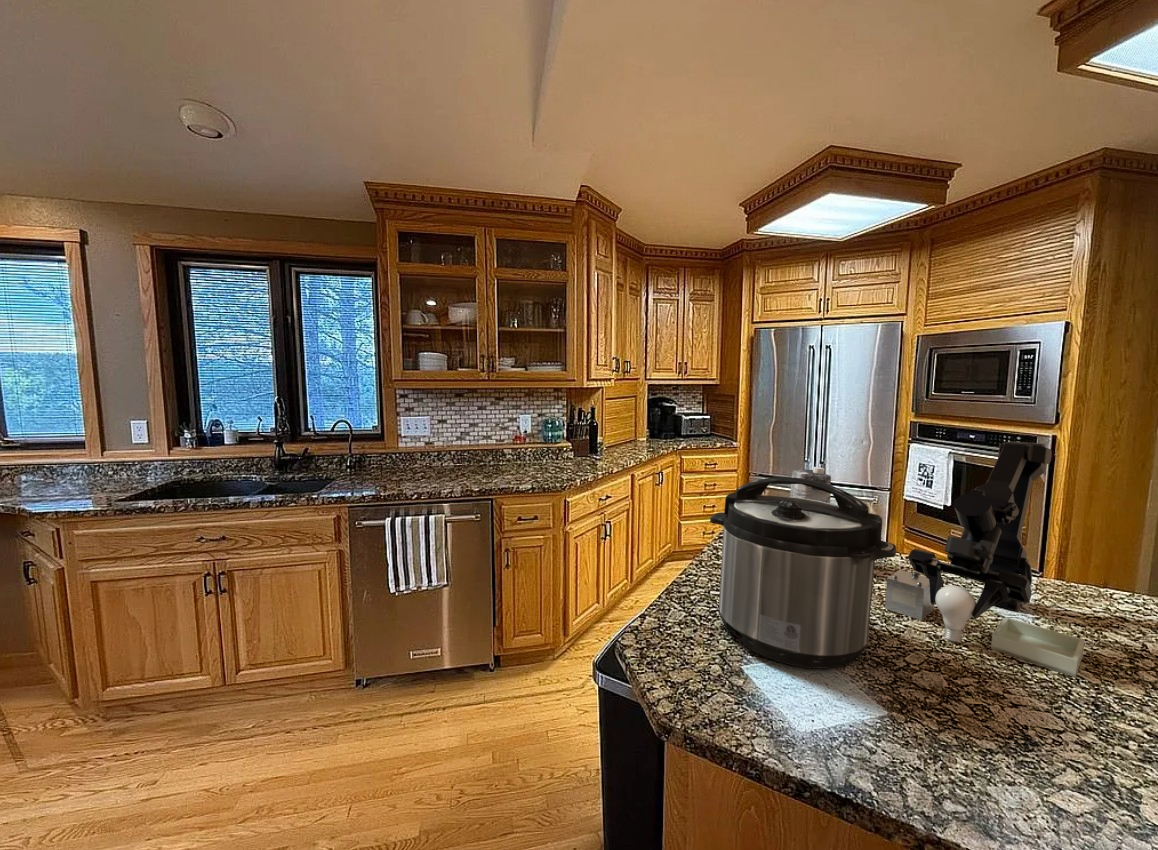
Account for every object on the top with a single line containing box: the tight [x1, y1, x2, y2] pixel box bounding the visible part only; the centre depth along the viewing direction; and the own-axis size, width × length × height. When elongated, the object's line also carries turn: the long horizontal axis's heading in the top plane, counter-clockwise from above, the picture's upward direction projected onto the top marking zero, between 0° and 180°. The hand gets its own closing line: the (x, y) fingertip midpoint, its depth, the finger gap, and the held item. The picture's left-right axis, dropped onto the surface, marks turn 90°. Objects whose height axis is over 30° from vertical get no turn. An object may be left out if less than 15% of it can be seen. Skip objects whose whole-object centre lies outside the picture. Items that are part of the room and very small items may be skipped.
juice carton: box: [789, 466, 832, 503], centre depth 136 cm, size 9×10×27 cm
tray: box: [990, 616, 1086, 678], centre depth 89 cm, size 11×11×3 cm
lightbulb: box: [935, 585, 977, 643], centre depth 93 cm, size 6×6×11 cm
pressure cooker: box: [709, 476, 897, 669], centre depth 93 cm, size 30×28×32 cm
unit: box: [884, 569, 935, 621], centre depth 106 cm, size 8×7×8 cm
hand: (952, 610), depth 92 cm, fingers open, 6 cm apart
